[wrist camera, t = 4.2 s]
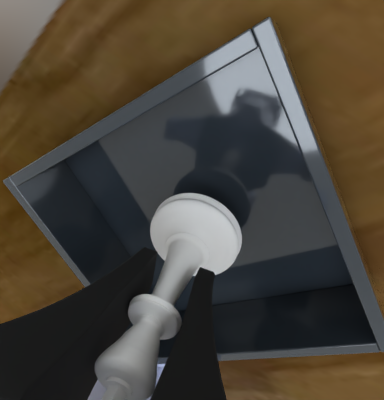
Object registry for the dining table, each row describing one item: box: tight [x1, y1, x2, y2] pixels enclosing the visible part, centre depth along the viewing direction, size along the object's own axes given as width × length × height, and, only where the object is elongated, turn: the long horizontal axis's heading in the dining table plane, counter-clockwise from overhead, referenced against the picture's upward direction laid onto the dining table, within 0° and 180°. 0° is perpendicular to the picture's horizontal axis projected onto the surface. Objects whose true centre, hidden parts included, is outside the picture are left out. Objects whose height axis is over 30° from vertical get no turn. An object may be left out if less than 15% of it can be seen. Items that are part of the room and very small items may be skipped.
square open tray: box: [3, 17, 384, 364], centre depth 15 cm, size 14×14×4 cm
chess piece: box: [94, 193, 242, 400], centre depth 11 cm, size 5×5×10 cm
